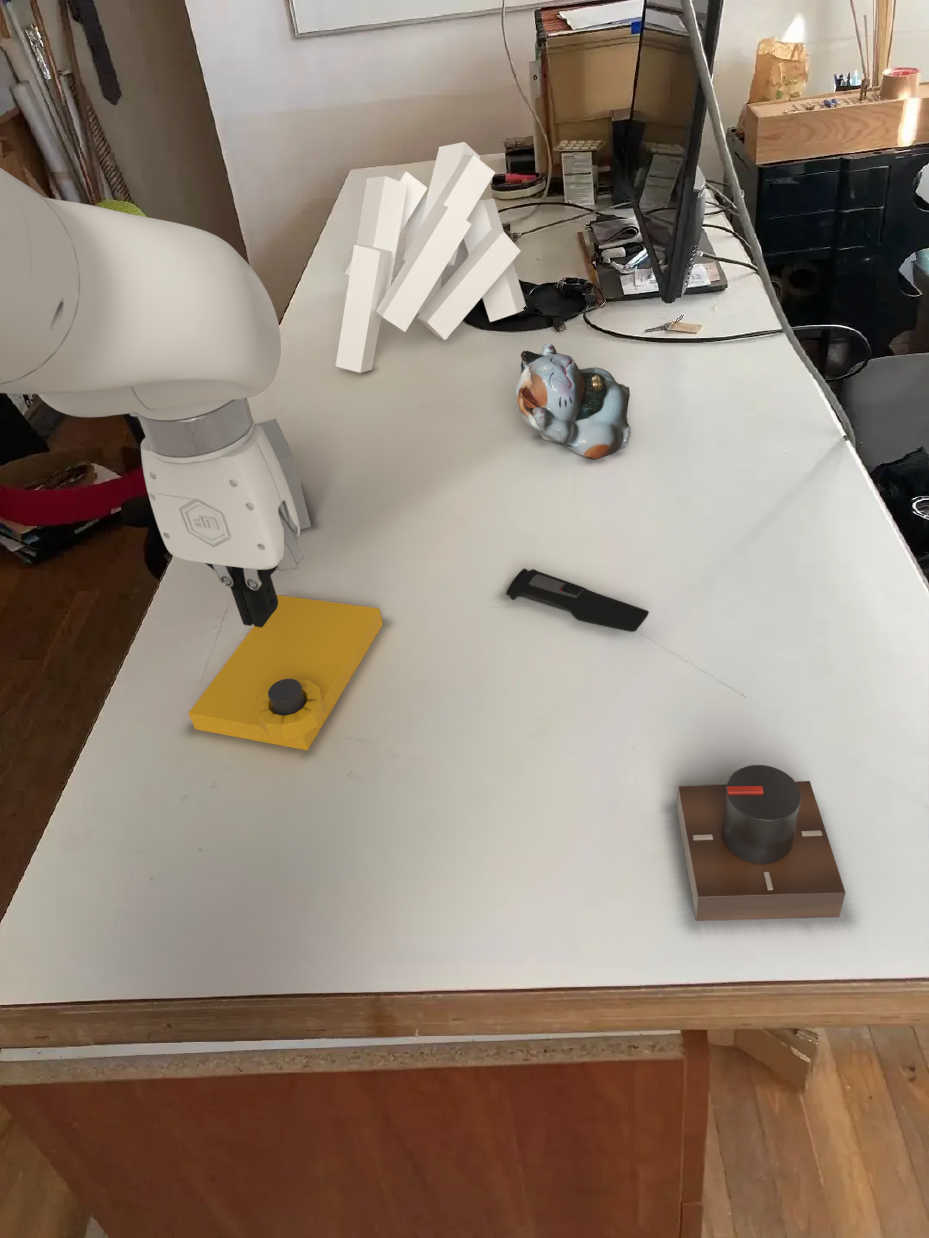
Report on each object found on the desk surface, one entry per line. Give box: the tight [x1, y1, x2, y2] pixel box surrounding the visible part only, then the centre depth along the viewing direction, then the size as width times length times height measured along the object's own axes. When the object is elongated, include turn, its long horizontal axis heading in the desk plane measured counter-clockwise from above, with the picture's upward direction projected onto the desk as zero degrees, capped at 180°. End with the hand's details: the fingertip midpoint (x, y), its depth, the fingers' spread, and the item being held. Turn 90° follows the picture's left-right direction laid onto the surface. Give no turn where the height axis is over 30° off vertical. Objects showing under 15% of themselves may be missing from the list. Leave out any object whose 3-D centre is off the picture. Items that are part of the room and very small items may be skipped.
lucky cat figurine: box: [514, 343, 632, 460], centre depth 118 cm, size 15×12×14 cm
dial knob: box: [722, 764, 801, 864], centre depth 67 cm, size 5×5×5 cm
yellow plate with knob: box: [188, 594, 384, 751], centre depth 90 cm, size 19×13×4 cm
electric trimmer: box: [506, 568, 650, 633], centre depth 94 cm, size 4×16×3 cm, turn 54°
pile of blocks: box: [335, 141, 527, 374], centre depth 147 cm, size 35×30×35 cm
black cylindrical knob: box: [268, 679, 305, 716], centre depth 83 cm, size 3×3×2 cm
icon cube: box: [254, 418, 312, 531], centre depth 112 cm, size 10×10×10 cm
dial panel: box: [676, 780, 846, 922], centre depth 69 cm, size 10×10×3 cm
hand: (261, 615), depth 77 cm, fingers closed
